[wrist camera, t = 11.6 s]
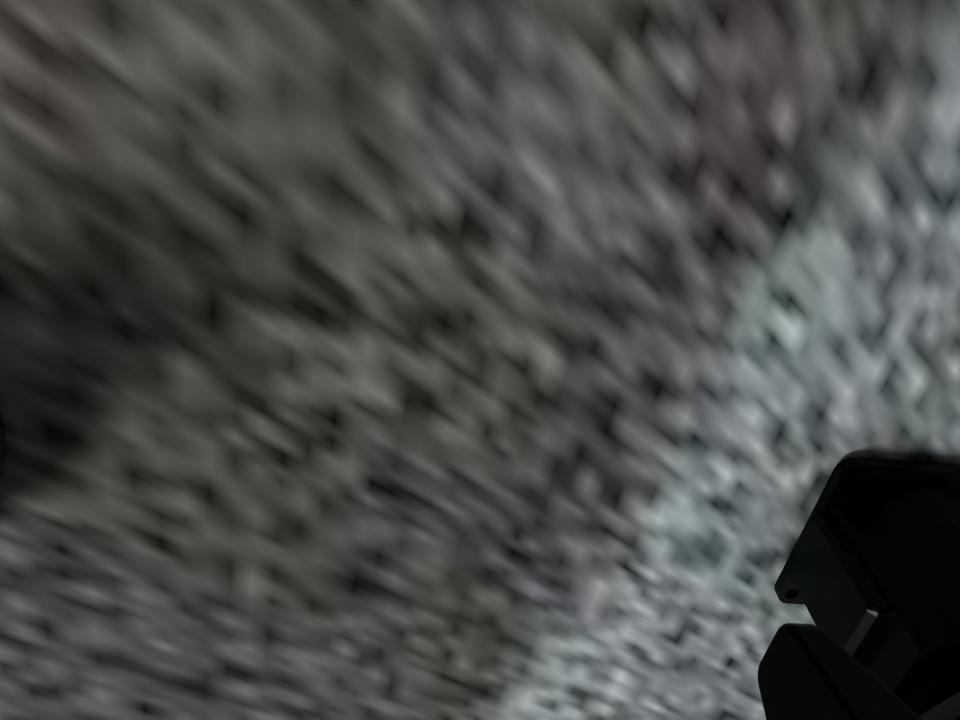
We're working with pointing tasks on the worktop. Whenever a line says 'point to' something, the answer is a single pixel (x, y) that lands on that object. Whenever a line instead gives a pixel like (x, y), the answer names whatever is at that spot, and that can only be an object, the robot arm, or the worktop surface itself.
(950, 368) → the worktop surface
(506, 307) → the worktop surface
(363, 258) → the worktop surface
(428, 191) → the worktop surface
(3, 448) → the collar socket
